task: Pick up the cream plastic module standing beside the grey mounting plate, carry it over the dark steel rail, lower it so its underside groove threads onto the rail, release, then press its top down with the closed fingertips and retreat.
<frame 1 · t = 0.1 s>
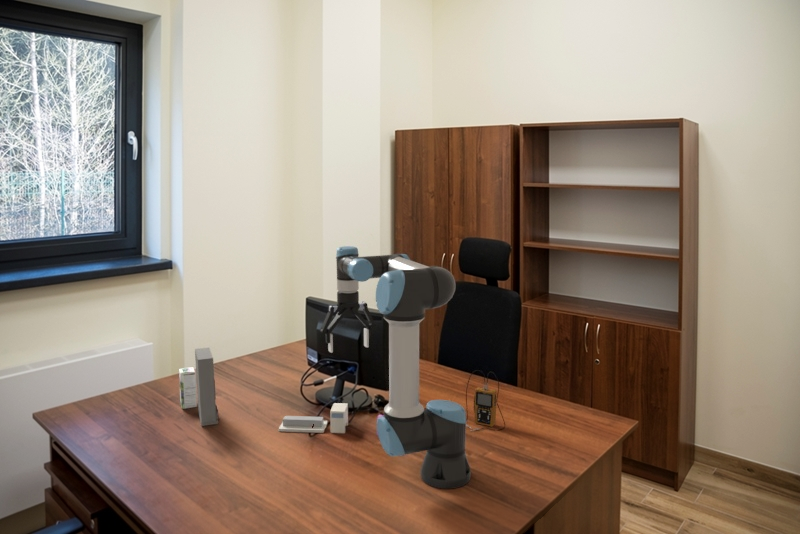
hand: (348, 349, 232), 28 cm above the table, fingers open, 13 cm apart
bracket: (390, 430, 231), on the table
rail base: (303, 427, 233), on the table
syrup box: (189, 406, 253), on the table
multimeter: (481, 428, 232), on the table
module: (339, 428, 232), on the table
tall grey upright slab: (208, 418, 241), on the table
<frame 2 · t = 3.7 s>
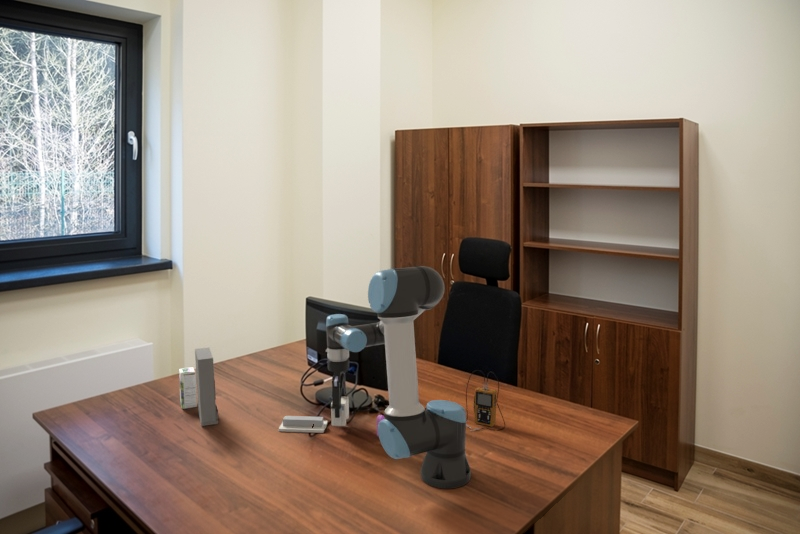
hand: (340, 420, 231), 3 cm above the table, fingers closed on module, 8 cm apart
module: (340, 421, 231), point 3 cm above the table, touching gripper
everything else where it was.
when the fingers open (2 cm above the table, at t = 7.3 s): module stays where it is, resting on rail base.
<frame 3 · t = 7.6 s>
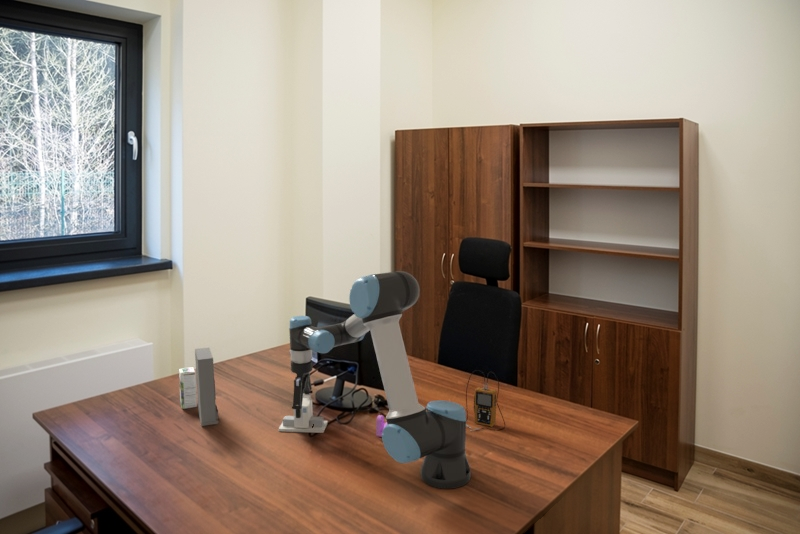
hand: (303, 418, 232), 3 cm above the table, fingers open, 12 cm apart
module: (303, 423, 233), point 1 cm above the table, touching rail base
everything else where it was.
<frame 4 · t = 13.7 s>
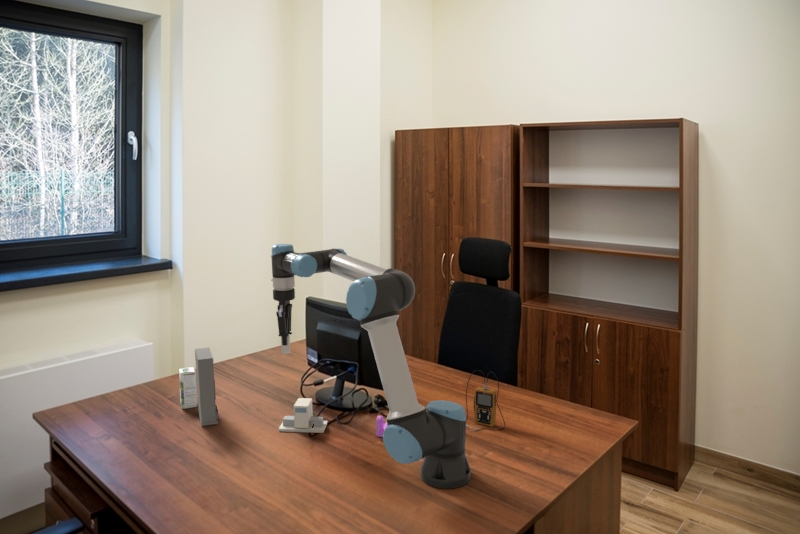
hand: (285, 353, 232), 26 cm above the table, fingers closed
nothing on the table moved.
at the end: module 0.1 cm from the rail base (horizontally); module point 1.5 cm above the table; module tilted 0° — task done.
